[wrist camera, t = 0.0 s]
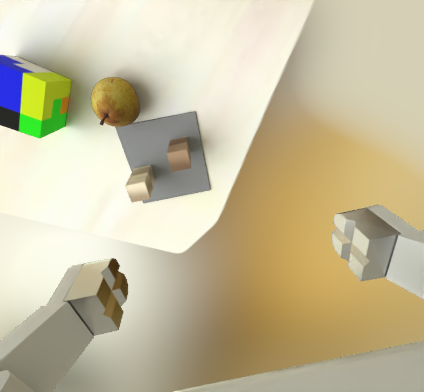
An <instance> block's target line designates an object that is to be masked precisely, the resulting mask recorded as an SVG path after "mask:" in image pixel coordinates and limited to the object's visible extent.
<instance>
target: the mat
mask: <svg viewBox="0 0 424 392" xmlns="http://www.w3.org/2000/svg"><path fill="white" fill-rule="evenodd" d="M115 128H116V130H117V133H118V136H119V139H120V141H121V144H122V147H123V149H124V152H125V155H126V158H127V160H128V163H129V166H130V168H131V171H132V172H133V170H134V168H137V167H142V166H147V165H151V167H152V170H153V173H154V176H155V179H156V180H155V183H154V187H153V190H152V194H151V198H150V199H146V200H142V201H143V203H148V202H153V201H158V200H163V199H168V198H173V197H178V196H183V195H188V194H193V193H198V192H203V191H209V190H210V186H209V181H208V176H207V170H206V165H205V160H204V155H203V150H202V145H201V140H200V135H199V129H198V124H197V119H196V114H195V112H190V113H185V114H180V115H175V116H170V117H164V118H159V119H154V120H149V121H144V122H139V123H134V124H129V125H126V126H122V127H115ZM182 137H187V140H188V144H189V149H190V155H191V168H190V169H185V170H180V171H175V172H172V170H171V167H170V163H169V160H168V156H167V150H168V146H169V141H170V140H172V139H177V138H182Z"/></svg>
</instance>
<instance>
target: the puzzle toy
mask: <svg viewBox="0 0 424 392" xmlns="http://www.w3.org/2000/svg"><path fill="white" fill-rule="evenodd" d="M71 83H72V80H71V79H69V78H66V77H64V76H62V75H59V74H57V73H54V72H52V71H50V70H47V69H45V68H42V67H40V66H38V65H35V64H33V63H30V62H28V61H26V60H23V59H21V58H18V57H16V56H7V55H0V125H2V126H5V127H8V128H10V129H13V130H16V131H19V132H22V133H25V134H28V135H31V136H34V137H37V138H42V137H44V136H46V135H48V134H50V133H53V132H55V131H57V130H59V129H61V128H63V127H65V122H66V116H67V109H68V103H69V96H70V90H71Z"/></svg>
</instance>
